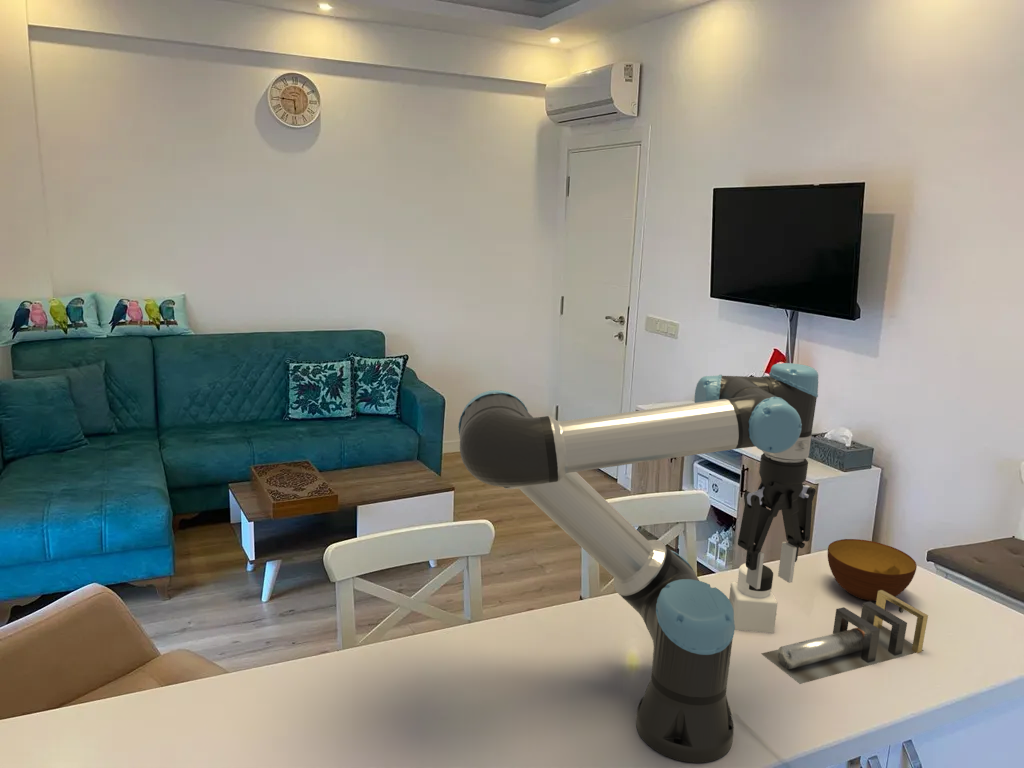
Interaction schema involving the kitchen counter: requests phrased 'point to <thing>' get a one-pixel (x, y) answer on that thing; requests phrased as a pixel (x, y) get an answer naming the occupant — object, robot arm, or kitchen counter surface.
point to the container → (753, 602)
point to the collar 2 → (897, 624)
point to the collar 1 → (870, 630)
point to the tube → (821, 648)
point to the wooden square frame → (921, 616)
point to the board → (840, 661)
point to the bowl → (870, 568)
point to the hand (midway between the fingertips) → (769, 582)
